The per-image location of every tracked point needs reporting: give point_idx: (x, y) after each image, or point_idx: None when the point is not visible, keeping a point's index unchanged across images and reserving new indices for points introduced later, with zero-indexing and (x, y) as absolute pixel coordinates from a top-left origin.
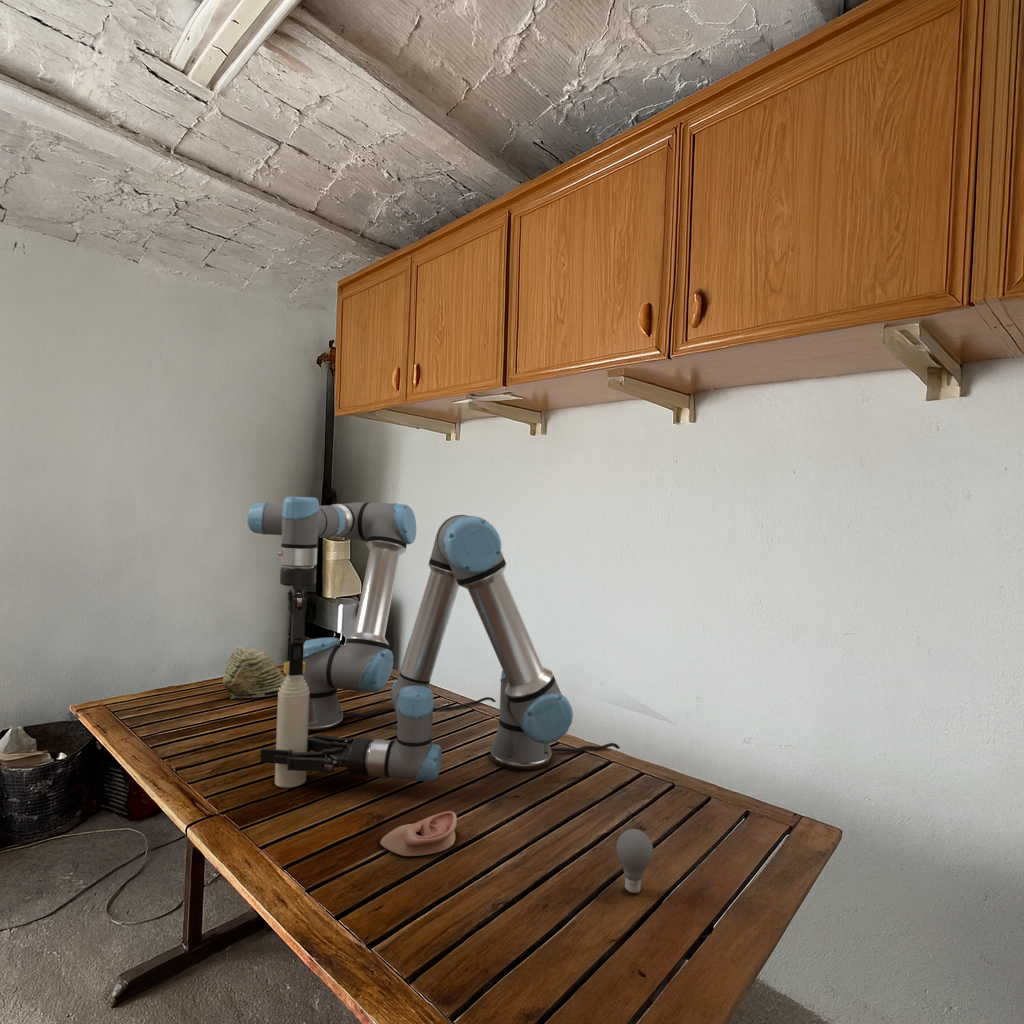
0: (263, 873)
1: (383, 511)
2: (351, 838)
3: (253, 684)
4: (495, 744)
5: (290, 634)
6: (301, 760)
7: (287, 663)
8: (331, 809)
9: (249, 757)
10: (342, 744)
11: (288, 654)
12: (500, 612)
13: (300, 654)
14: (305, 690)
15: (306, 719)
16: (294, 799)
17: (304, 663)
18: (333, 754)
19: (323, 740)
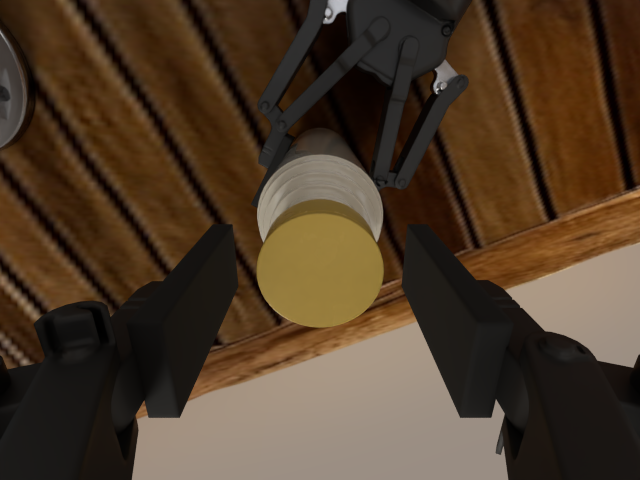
0: (627, 216)
1: None
2: (610, 63)
3: None
4: None
5: (133, 424)
6: (421, 157)
7: (321, 311)
8: (479, 88)
9: (181, 235)
10: (383, 33)
11: (219, 321)
12: None
13: (517, 305)
14: (365, 179)
15: (348, 151)
16: None
17: (345, 222)
18: (417, 69)
19: (309, 86)
